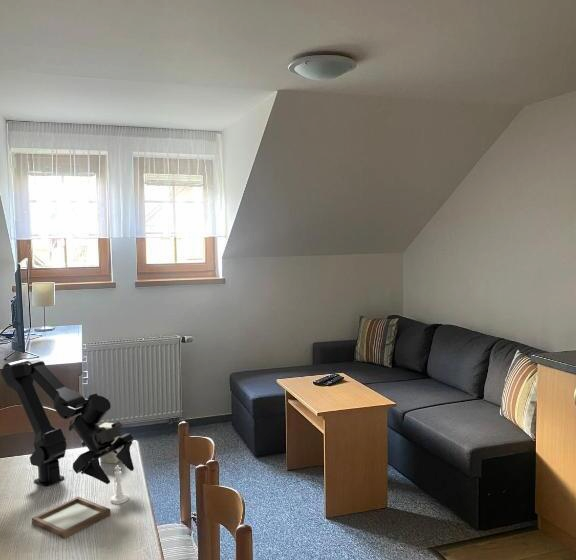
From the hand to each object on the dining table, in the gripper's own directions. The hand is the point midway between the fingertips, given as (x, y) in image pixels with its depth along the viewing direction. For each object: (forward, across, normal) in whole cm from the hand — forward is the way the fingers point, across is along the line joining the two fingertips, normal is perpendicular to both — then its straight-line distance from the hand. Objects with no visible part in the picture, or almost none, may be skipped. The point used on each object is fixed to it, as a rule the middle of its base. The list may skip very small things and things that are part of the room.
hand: (121, 476), depth 161 cm
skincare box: (-12, +20, +22) cm, 32 cm away
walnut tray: (+2, -14, +8) cm, 16 cm away
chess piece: (+4, 0, +6) cm, 7 cm away
